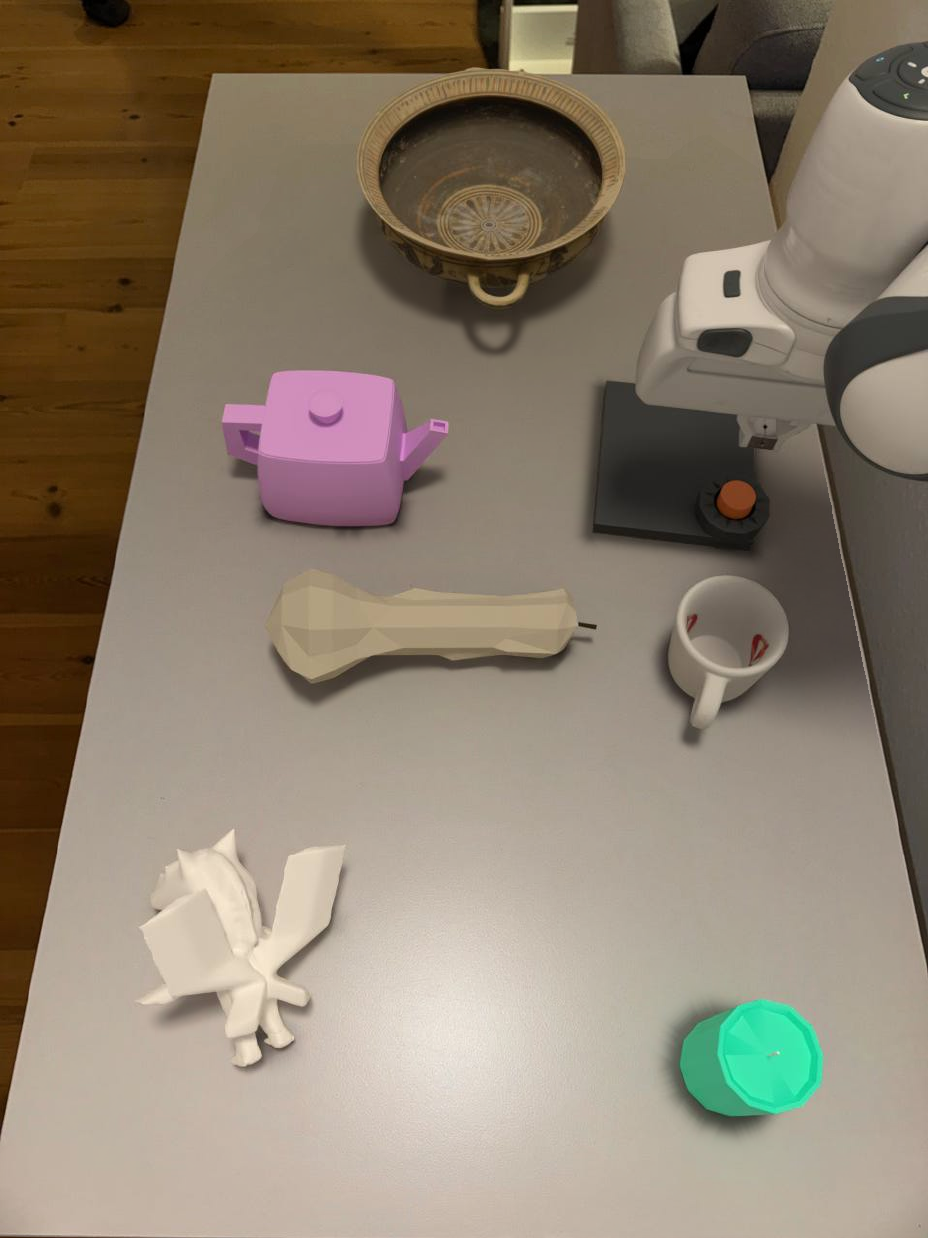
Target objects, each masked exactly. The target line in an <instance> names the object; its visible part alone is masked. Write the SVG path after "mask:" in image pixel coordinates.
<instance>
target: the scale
mask: <svg viewBox="0 0 928 1238" xmlns="http://www.w3.org/2000/svg"><path fill="white" fill-rule="evenodd" d="M635 385H636V382H635V383H633V382H625V381H615V380H606V381H605V385H604V391H603V392H604V393H603V405H602V415H601V426H600V428H601V429H600V439H599V440H600V441H599V442H600V443H599V453H598V464H597V476H596V488H595V498H594V499H595V500H594V511H593V523H592V524H593V525H592V533H595V534H602V535H603V534H604V535H613V536H622V537H631V538H638V539H646V540H647V539H648V540H656V541H664V542H665V541H666V542H672V543H683V544H690V545H699V546H707V547H717V548H724V549H732V550H733V549H734V550H740V551H741V550H742V551H751V549H752V547H753V545H754V543H755V538H757V536H758V535H759V533H760V532H761V531H762V530H763V528H764V527H765V526H766V523H767V522H768V520H769V518H770V515H771V500H770V497H769V496H768V493H766V491H765V489H764V488H763V486H762V485H761V484H760V483H758V482H756V481H755V448H749V447H740V446H739V430H740V426H739V424H738V422H737V420H736V417H737V415H735V414H726V413H718V412H709V411H700V410H692V409H683V408H674V407H665V406H656V405H648V404H645V403H644V402H643V401H642V400H641V399H640V398H639V396H638V395H637V394H636V390H635ZM730 481H742V482H745V483H747V484H749V485H750V486H751V487H752V488H753V490H754V492H755V495H756V500H755V503H754V505H753V507H752V509H751V511H750V513H749V514H748V515H747V516H746V517H744V518H741V519H730V518H727V517H725V516H724V515H723V514H722V513H721V512H720V511H719V509H718V507H717V499H718V496H719V494H720V492H721V489H722V487H723V486H724V485H725V484H726V483H728V482H730Z"/></svg>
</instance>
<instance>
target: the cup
mask: <svg viewBox="0 0 928 1238" xmlns="http://www.w3.org/2000/svg"><path fill="white" fill-rule="evenodd" d="M789 631H790V630H789V622H788V616H787V614H786V612H785V610H784V608H783V606H782V605H781V603H780V601H778V599H777V598H776V596H774V594H772V592H770V591H769V590H768V589H767V588H766V587H764V586H762V585H761V584H759V583H758V582H756V581H753V580H751V579H748V578H746V577H742V576H738V575H722V574H721V575H716V576H711V577H707V578H705V579H703V580H701V581H699V582H697V583H695V584H694V585H692V587H690V588H689V589H688V590H687V591H686V592H685V594H684V595H683V596H682V598H681V600H680V601H679V604H678V606H677V609H676V613H675V618H674V622H673V628H672V631H671V637H670V642H669V647H668V652H667V654H668V655H667V661H668V669H669V671H670V674H671V676H672V678H673V680H674V682H675V683H676V684H677V686H678V687H679V688H680V690H682V691H683V692H684V693H685V694H686V695H688V696H690V697H692V698H693V699H694V700H693V701H694V702H693V705H692V709H691V713H690V719H689V721H690V725H691V726H692V727H695V728H697V729H699V730H707V729H709V728H710V727H711V726H712V724H714V721H715V719H716V717H717V715H718V713H719V710H720V707H721V704H722V703H725V702H728V701H733V700H734V699H736V698H738V697H740V696H741V695H743V694H744V693H746V692H747V691H748V690H749V689H750V688H751V687H752V686H753V685H755V683H757V682H758V681H759V680H760V679H761V678H762V677H763V676H764V675H765V674H766V673H767V672H768V671H769V670H770V669H771V668H773V666H774V665H776V664H777V663H778V661H779V660H780V659H781V657H782V656H783V655H784V653H785V650H786V648H787V645H788V642H789V636H790V632H789Z"/></svg>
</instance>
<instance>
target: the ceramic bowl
mask: <svg viewBox="0 0 928 1238" xmlns="http://www.w3.org/2000/svg"><path fill="white" fill-rule="evenodd" d="M626 158H627V157H626V150H625V146H624V142H623V139H622V137H621V135H620V132H619V131H618V128H617V127H616V125H615V123H614V122H613V121H612V119H611V118H610V117H609V115H608V114H607V113H606V112H605V111H604V109H602V108H601V106H599V105H598V104H597V103H596V102H595V101H594V100H592V99H591V98H589V97H588V96H586V95H585V94H584V93H583V92H580V91H579V90H577V89H575V88H574V87H572V86H570V85H568V84H565V83H563V82H561V81H558V80H555V79H552V78H550V77H547V76H544V75H540V74H537V73H536V74H535V73H531V72H527V71H522V70H508V69H505V68H491V69H490V68H483V67H476V66H475V67H469V68H466V69H464V70H460V71H453V72H450V73H446V74H445V75H443V74H442V75H439V76H435V77H431V78H430V79H426V80H425V81H424V82H419V83H417V84H415V85H413V86H411V87H409V88H407V89H406V90H404V91H402V92H400V93H398V94H397V95H396V96H394V97H392V98H391V99H390V100H389V101H387V102H386V103H385V104H384V105H383V106H382V107H381V108H380V109H379V110H378V111H377V112H376V113H375V114H374V116H373V117H372V118H371V119H370V121H369V122H368V124H367V125H366V126H365V129H364V131H363V132H362V134H361V137H360V139H359V142H358V146H357V150H356V164H355V165H356V174H357V175H356V176H357V181H358V183H359V186H360V188H361V191H362V194H363V196H364V199H366V201H367V202H368V204H369V205H370V207H371V209H372V210H373V212H374V216H375V219H376V221H377V224H378V227H379V228H380V230H381V233H382V234H383V236H384V237H385V238H386V240H387V241H388V242H389V244H390V245H391V246H392V248H394V250H395V251H396V252H397V253H398V254H399V255H400V256H402V257H403V258H404V259H405V260H406V261H408V262H409V263H410V264H411V265H413V266H414V267H416V268H417V269H419V270H421V271H422V272H425V273H426V274H429V276H433V277H435V278H438V279H441V280H443V281H446V282H448V283H449V282H450V283H453V284H457V285H461V286H467V287H468V288H469V291H470V293H471V294H472V297H474V298H475V300H477V301H478V303H481V304H482V305H484V306H486V307H487V308H494V309H507V308H510V307H513V306H515V305H517V304H518V303H520V302H521V301H522V300H523V298H524V297H525V295H526V293H527V291H528V287H529V284H530V283H533V282H536V281H540V280H541V279H544V278H547V277H549V276H552V275H553V274H555V273H557V272H559V271H560V270H562V269H564V268H566V267H567V266H568V265H570V264H571V263H573V262H574V261H576V260H577V259H578V258H579V257H580V256H581V255H582V254H583V253H584V252H585V251H586V250H587V249H588V248H589V246H590V245H591V244H592V243H593V241H594V240H595V239H596V237H597V235H598V234H599V232H600V230H601V229H602V226H603V224H604V220H605V218H606V216H607V214H608V213H609V212H610V211H611V210H612V208H613V206H614V204H615V202H616V200H617V199H618V196H619V194H620V192H621V190H622V186H623V183H624V180H625V177H626V168H627V159H626ZM509 287H510V288H511V287H514V289H513V290H512V291H511V292H510V293H509V294H507V295H504V296H494V295H491V294H488V293H487V292H486V291H484V290H483V288H494V289H496V288H498V289H499V288H509Z"/></svg>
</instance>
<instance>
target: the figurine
mask: <svg viewBox="0 0 928 1238" xmlns="http://www.w3.org/2000/svg"><path fill="white" fill-rule="evenodd" d="M235 829H236V828H232V829H231V830H230V831H229V832H228V833H227V834H225V835H224V836H223V837H222V838H221V839H219V840H218V841H217V842H216V843H215V844H213V845H212V846H211V847H209V848H208V847H207V848H199V849H198V850H194V851H192V853H191V852H188V851H186V850H183V849H180V848H176V854H177V860H175V861H173V862H171V863H169V864H167V865H165V866H164V873H159V877H158V881H157V884H156V887H155V888H154V890H153V891H152V893H151V895H150V896H149V903H150V906H151V907H152V908H153V909H155V910H158V911H159V910H160V912H158V913H157V914H156V915H154V916H153V917H152V918H150V919H149V920H148V921H147V922H145V923H143V924H142V925H139V926H138V930H140V931H142V934H143V938H144V942H145V943H146V946H147V947H148V949H149V951H150V952H151V956H152V961H153V963H154V964H155V966H156V967H157V969H158V972H159V974H160V977H161V978H162V979H163V983H161V984H160V985H159V986H157V987H156V988H154V989H152V990H151V991H149V992H147V993H146V994H143V995H142V996H140V997H139V998H137V999H135V1000H134V1001H133V1003H135V1004H140V1005H143V1006H153V1005H156V1006H157V1005H158V1006H163V1005H167V1004H169V1003H172V1002H174V1001H176V1000H177V999H179V998H180V997H183V996H191V995H200V994H207V993H216V995H217V998H218V1000H219V1002H220V1006H221V1007H222V1010H223V1013H224V1015H225V1018H226V1021H225V1025H224V1029H223V1030H224V1034H225V1038H227V1039H231V1040H232V1042H233V1044H234V1047H235V1049H236V1051H235V1054H234V1055H233V1056H231V1057H230V1058H229V1059H230V1060H229V1062H230V1064H231V1065H233V1066H238V1067H239V1068H240V1067H242V1068H245V1067H247V1066H248V1065H253V1064H256V1063H257V1062H258V1061H260V1060H261V1059H262V1055H263V1054H262V1051H261V1048H260V1046H259V1044H258V1039H257V1035H256V1032H257V1030H258V1029H259V1026H260V1028H261V1029H262V1030H263V1032H264V1033H265V1034H266V1035H267V1037H266V1038H265V1039H264V1040H263V1042H264V1043H265V1044H266V1045H268V1046H269V1045H270V1046H272V1047H273V1048H276V1049H282V1048H284V1047H286V1046H289V1044H291V1043H292V1042H293V1041H294V1040H295V1036H294V1034H292V1033H291V1032H290V1030H289V1029H287V1027H286V1025H285V1023H284V1021H283V1019H282V1018H281V1015H280V1012H279V1011H280V1010H279V1008H278V1000H279V1001H282V1002H285V1003H288V1004H291V1005H294V1006H297V1007H306V1005H307V1004H308V1002H309V1001H310V998H311V993H310V990H309V989H308V988H307V986H305V985H304V984H301V983H298V982H296V981H293V980H290V979H287V978H284V977H282V976H280V975H278V973H277V971H278V970H279V968H281V967H282V966H283V965H285V963H287V962H288V961H289V960H290V959H291V958H292V957H294V956H295V955H296V954H297V953H299V952H300V951H301V950H302V949H303V948H304V947H306V946H307V945H308V944H309V943H310V942H311V941H312V940H314V939H315V938H316V937H317V936H318V935H319V934H320V933H322V932H323V931H324V930H326V928H327V927H328V926H329V925H330V921H331V919H332V909H333V907H334V902H335V898H336V896H337V890H338V886H339V883H340V874H341V870H342V866H343V861H344V855H345V850H346V848H347V844H343V845H324V846H323V845H322V846H320V845H319V846H311V847H307V848H304V849H302V850H301V851H299V852H297V853H293V854H289V855H288V857H287V859H286V864H285V866H284V870H283V873H284V875H283V881H282V883H281V888H280V889H279V895H278V899H277V902H276V906H275V914H274V915H275V916H274V920H273V922H272V923H273V924H272V926H271V928H270V927H268V926H265V925H263V918H262V912H261V908H260V904H259V900H258V892H257V885H256V883H255V881H254V878H253V877H252V874H251V873H250V872H249V871H248V870H247V868H245V867H244V866H243V864H242V863H241V862H240V861H239V858H238V852H237V843H236V842H237V841H236V834H235Z"/></svg>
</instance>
